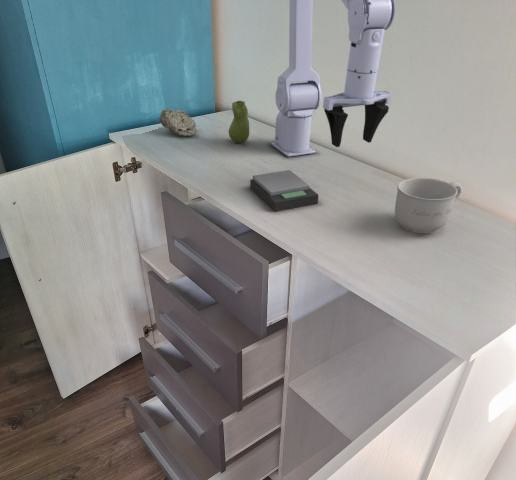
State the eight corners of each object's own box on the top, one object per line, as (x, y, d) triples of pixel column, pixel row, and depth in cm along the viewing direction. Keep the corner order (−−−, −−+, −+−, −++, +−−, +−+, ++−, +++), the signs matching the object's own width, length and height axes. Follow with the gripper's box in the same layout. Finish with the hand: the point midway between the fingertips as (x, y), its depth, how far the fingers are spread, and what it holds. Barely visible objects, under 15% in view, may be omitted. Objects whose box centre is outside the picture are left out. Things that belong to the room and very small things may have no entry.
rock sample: (178, 127, 127) (171, 95, 128) (160, 142, 132) (154, 112, 133) (209, 137, 134) (202, 107, 135) (191, 151, 139) (184, 122, 140)
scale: (250, 188, 110) (250, 175, 108) (290, 181, 113) (291, 169, 111) (274, 211, 101) (275, 198, 100) (317, 203, 105) (319, 190, 103)
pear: (250, 146, 129) (251, 104, 123) (229, 146, 128) (229, 104, 122) (247, 138, 133) (248, 97, 127) (227, 138, 133) (227, 97, 126)
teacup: (406, 242, 93) (417, 201, 88) (380, 216, 101) (388, 177, 96) (471, 234, 97) (485, 194, 91) (440, 209, 104) (451, 171, 99)
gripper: (340, 78, 90) (331, 154, 99) (406, 72, 95) (391, 145, 104) (321, 68, 95) (313, 142, 104) (384, 63, 100) (372, 134, 109)
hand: (351, 143), depth 104 cm, fingers open, 7 cm apart
